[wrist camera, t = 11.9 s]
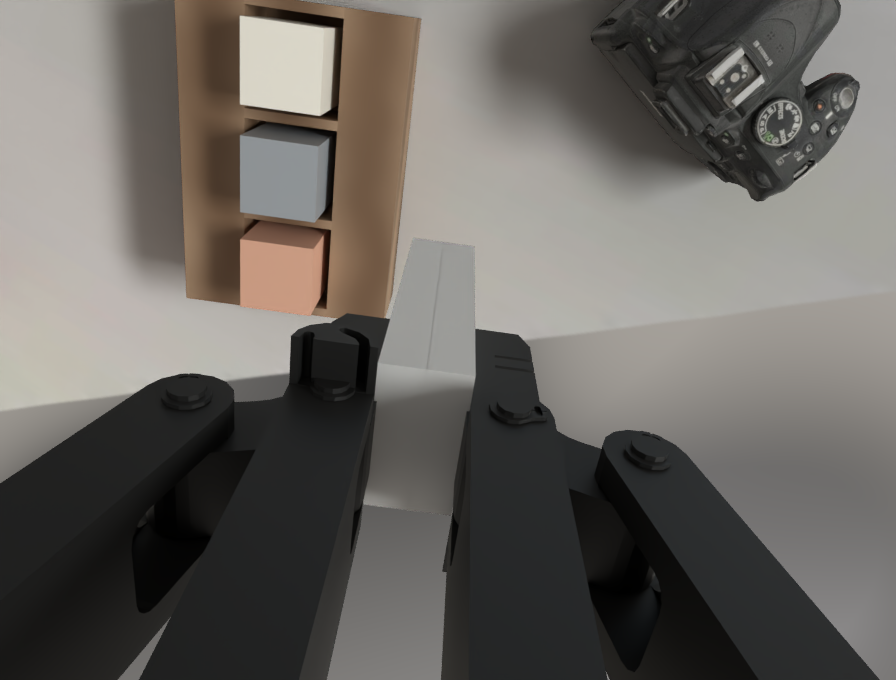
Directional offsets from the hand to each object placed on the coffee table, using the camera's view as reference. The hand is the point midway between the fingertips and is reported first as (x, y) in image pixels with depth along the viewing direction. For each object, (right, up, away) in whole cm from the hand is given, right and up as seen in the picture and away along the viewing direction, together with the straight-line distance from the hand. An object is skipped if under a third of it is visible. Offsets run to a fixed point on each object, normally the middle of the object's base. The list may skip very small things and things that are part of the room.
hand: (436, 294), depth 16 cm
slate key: (-8, +9, +23) cm, 26 cm away
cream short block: (-8, +14, +20) cm, 26 cm away
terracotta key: (-9, +5, +25) cm, 27 cm away
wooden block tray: (-8, +10, +25) cm, 28 cm away
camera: (+15, +15, +22) cm, 30 cm away
